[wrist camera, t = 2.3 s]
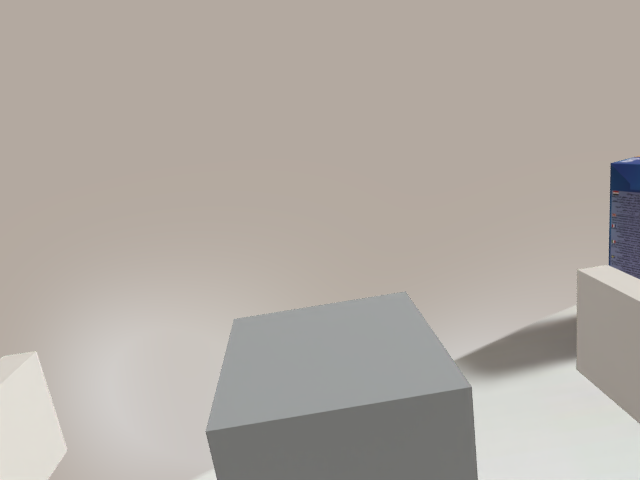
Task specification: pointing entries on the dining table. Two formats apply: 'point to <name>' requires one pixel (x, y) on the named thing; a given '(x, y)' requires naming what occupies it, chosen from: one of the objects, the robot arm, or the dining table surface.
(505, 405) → the dining table surface
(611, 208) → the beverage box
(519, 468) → the dining table surface
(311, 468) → the grey matte cube
